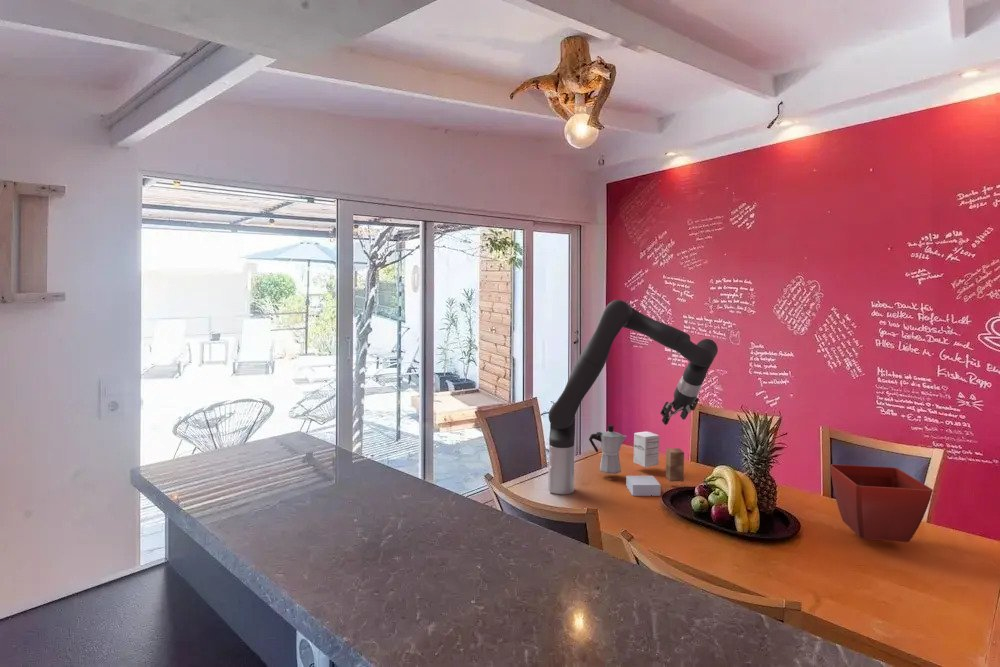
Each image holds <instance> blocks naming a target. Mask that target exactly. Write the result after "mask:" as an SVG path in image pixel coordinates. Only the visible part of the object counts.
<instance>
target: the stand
mask: <svg viewBox="0 0 1000 667" xmlns="http://www.w3.org/2000/svg"><path fill="white" fill-rule="evenodd" d="M625 477H626V478H625V479H626V480H625V482H626V484H625V486H627V487H626V488H627V489H629V490H628V491H629V493H631V496H633V497H655V496H656V497H657V496H658V497H660V496H661V492H662V491H661V487H662V485H661V483H659V481H658V480H657V478H655V476H654V475H626V476H625ZM651 495H652V496H651Z"/></svg>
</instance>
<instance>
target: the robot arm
mask: <svg viewBox="0 0 1000 667" xmlns="http://www.w3.org/2000/svg"><path fill="white" fill-rule="evenodd" d="M622 328H625V329H629V330H631V331H635V332H637V333H640V334H642V335H644V336H645V337H648V338H650V339H651V340H653V341H655V342H656V343H659V345H663V346H664V347H666V348H669V349H670V350H673V351H675V352H677V353H679V355H681V356H682V357H683V358H685V359H686V360H687V361H688V362H689V363H688V364H687V365H686V366H685V370H684V371H683V374H682V376H681V377H680V379H679V381H678V383H677V385H676V387H675V389H674V392H673V400H672V401H671V402H669V401H666V402H665V403H664V405H663V407H662V409H661V411H660V415H662V419H661V422H662V423H663V424H664V425H665V426H667V425H668V424H669V422H670V419H671V417H672V416H676V414H678V412H680V411H681V413H680V416H679V417H680V418H681V419H682V420H686V419H687V417H688V415H689V413H691V411H694V410H696V407H697V406H698V403H699V401H700V399H699V397H698V395H699V393H700V391H701V390H702V386H703V383H704V381H705V379H706V376H707V374H708V371H709V369H710V367H711V365H712V364H713V362H714V361H715V358H716V356H717V354H718V351H719V350H718V349H719V348H718V345H717V343H716V342H715V341H714V340H712V339H711V338H703V339H702V340H700V341H699V342H697V343H694V342H693V341H691V335H690V334H689V333H687V332H685V331H683V330H681V329H678V328H676V327H674V326H673V325H669V324H666V323H664V322H661V321H658V320H656V319H653V318H651V317H649V316H647V315H645V314H643V313H641V312H640V311H638V310H637V309H635V308H634V307H632V306H631V304H629V303H628V302H626V301H625V300H620V299H614V300H612V301H611V302H609V303H608V304H606V306H605V308H604V311H603V312H602V315H601V318H600V320H599V322H598V324H597V326H596V329H595V331H594V333H592V335H591V337H590V339H589V340H588V342H587V343H586V345H585V346H584V348H583V350H582V351H581V353H580V355H579V356H578V359H577V360H576V362H575V364H574V366H573V368H572V370H571V372H570V375H569V377H568V380H567V382H566V385H565V387H564V389H563V391H562V393H561V395H560V396H559V397H558V398H557V400H556V401H555V402H554V403H553V404H552V405H551V407H550V409H549V411H548V421H549V424H550V425H549V437H548V443H549V444H548V451H549V452H548V461H549V462H548V472H547V473H548V474H547V475H548V477H547V478H548V483H547V484H548V486H547V488H548V490H549V491H548V492H549V493H550V494H555V495H570V494H573V493H574V491H575V440H576V438H575V437H576V436H575V435H576V414H577V412H578V409H579V407H580V405H581V403H582V401H583V399H584V397H586V395H587V393H588V392H589V391H590V390H591V388H592V387H593V385H594V384H595V382H596V381H597V379H598V377H599V375H600V374H601V372H602V370H603V368H604V367H605V365H606V363H607V361H608V357H609V355H610V353H611V352H610V351H611V348H612V345H613V343H614V341H615V339H616V337H618V336H617V335H618V334H619V332H620V331H621V330H622Z"/></svg>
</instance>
